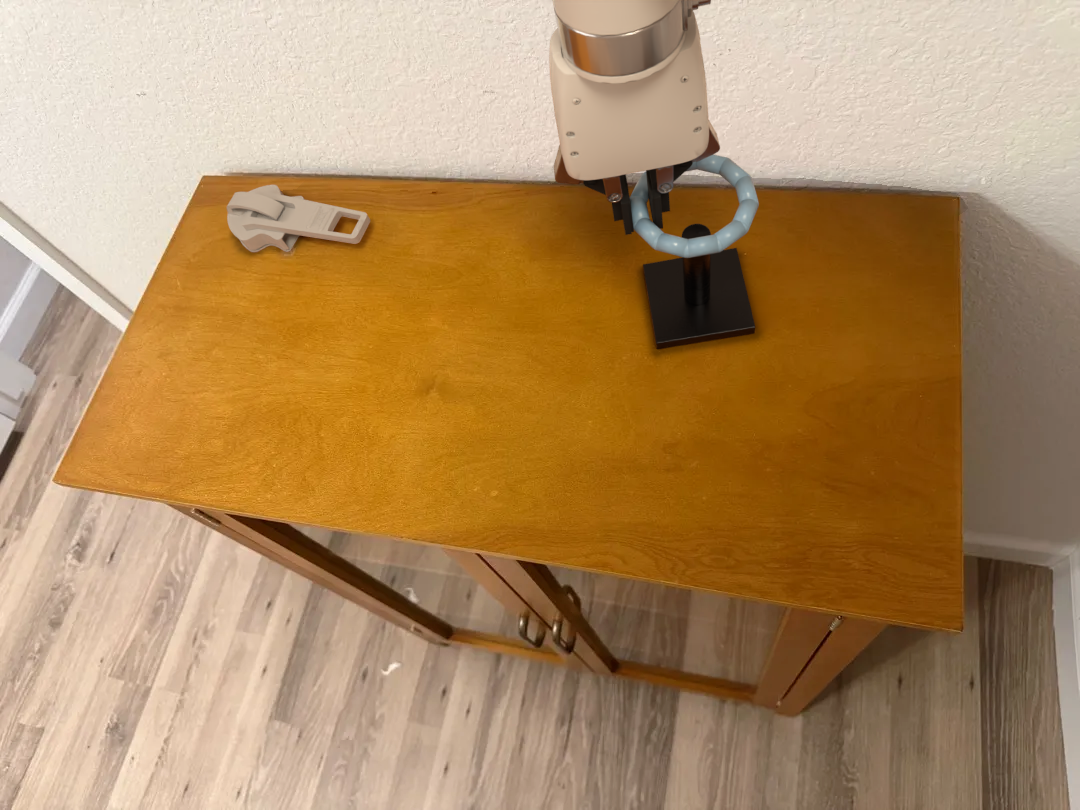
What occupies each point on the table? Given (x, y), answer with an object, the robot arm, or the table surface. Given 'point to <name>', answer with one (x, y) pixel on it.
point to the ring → (705, 243)
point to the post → (698, 296)
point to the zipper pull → (286, 219)
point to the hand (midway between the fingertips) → (641, 216)
